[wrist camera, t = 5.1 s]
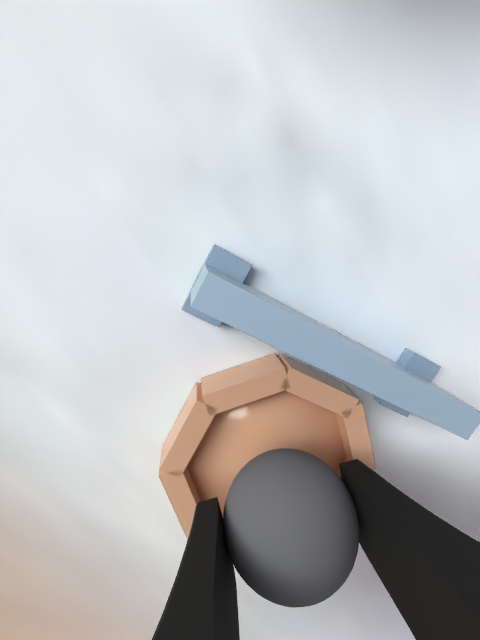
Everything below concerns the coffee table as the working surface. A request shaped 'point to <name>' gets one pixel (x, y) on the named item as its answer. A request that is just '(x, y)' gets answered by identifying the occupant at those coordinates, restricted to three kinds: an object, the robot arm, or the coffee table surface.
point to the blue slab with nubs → (324, 345)
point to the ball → (291, 527)
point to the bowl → (257, 428)
